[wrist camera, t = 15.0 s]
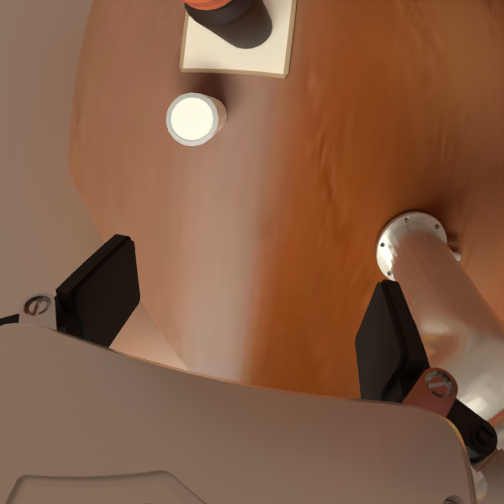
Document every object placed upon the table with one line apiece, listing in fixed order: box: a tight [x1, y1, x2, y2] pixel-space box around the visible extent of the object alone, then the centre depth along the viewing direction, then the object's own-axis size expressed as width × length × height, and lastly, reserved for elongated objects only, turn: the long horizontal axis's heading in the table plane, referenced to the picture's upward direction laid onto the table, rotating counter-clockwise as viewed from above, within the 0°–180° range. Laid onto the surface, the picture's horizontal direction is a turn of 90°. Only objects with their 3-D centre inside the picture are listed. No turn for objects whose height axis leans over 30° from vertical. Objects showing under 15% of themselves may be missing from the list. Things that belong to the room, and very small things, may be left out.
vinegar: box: [182, 0, 272, 49], centre depth 24 cm, size 7×7×20 cm
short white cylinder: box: [166, 93, 227, 146], centre depth 38 cm, size 7×7×7 cm
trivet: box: [180, 0, 297, 79], centre depth 33 cm, size 15×15×1 cm
